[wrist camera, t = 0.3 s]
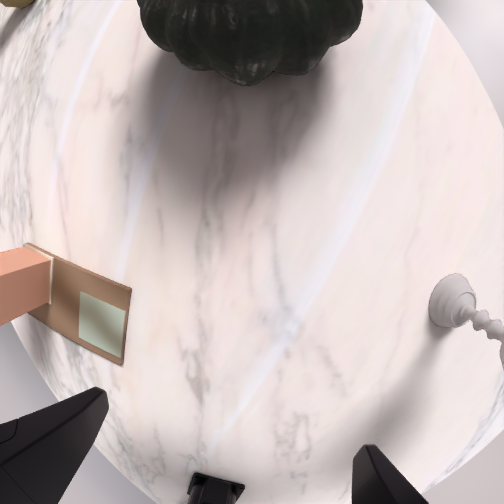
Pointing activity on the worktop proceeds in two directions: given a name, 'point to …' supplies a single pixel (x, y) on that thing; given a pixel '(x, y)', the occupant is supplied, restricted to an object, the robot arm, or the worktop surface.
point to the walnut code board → (85, 307)
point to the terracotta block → (22, 282)
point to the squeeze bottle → (16, 3)
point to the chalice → (462, 308)
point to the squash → (250, 33)
